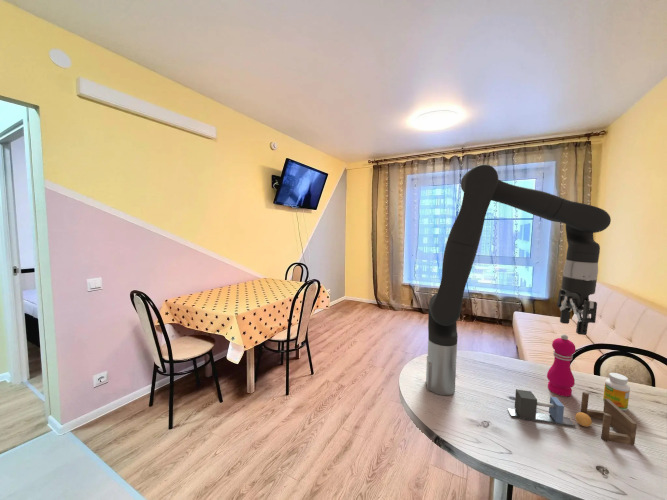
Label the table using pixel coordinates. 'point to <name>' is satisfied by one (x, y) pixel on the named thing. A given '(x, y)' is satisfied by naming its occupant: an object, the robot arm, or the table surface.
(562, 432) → the table surface
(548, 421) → the rail
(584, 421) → the ball
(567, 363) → the pepper mill
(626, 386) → the supplement bottle
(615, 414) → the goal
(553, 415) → the rod
